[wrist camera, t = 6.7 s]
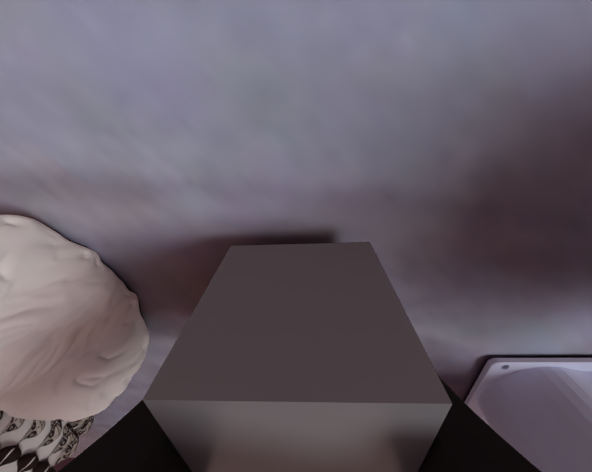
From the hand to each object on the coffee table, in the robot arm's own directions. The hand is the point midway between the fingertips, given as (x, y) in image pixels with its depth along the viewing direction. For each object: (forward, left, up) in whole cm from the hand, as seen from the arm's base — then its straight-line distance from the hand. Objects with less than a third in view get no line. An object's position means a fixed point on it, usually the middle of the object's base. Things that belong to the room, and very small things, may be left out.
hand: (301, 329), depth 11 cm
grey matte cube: (0, 0, -2) cm, 2 cm away
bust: (+14, 0, -4) cm, 15 cm away
